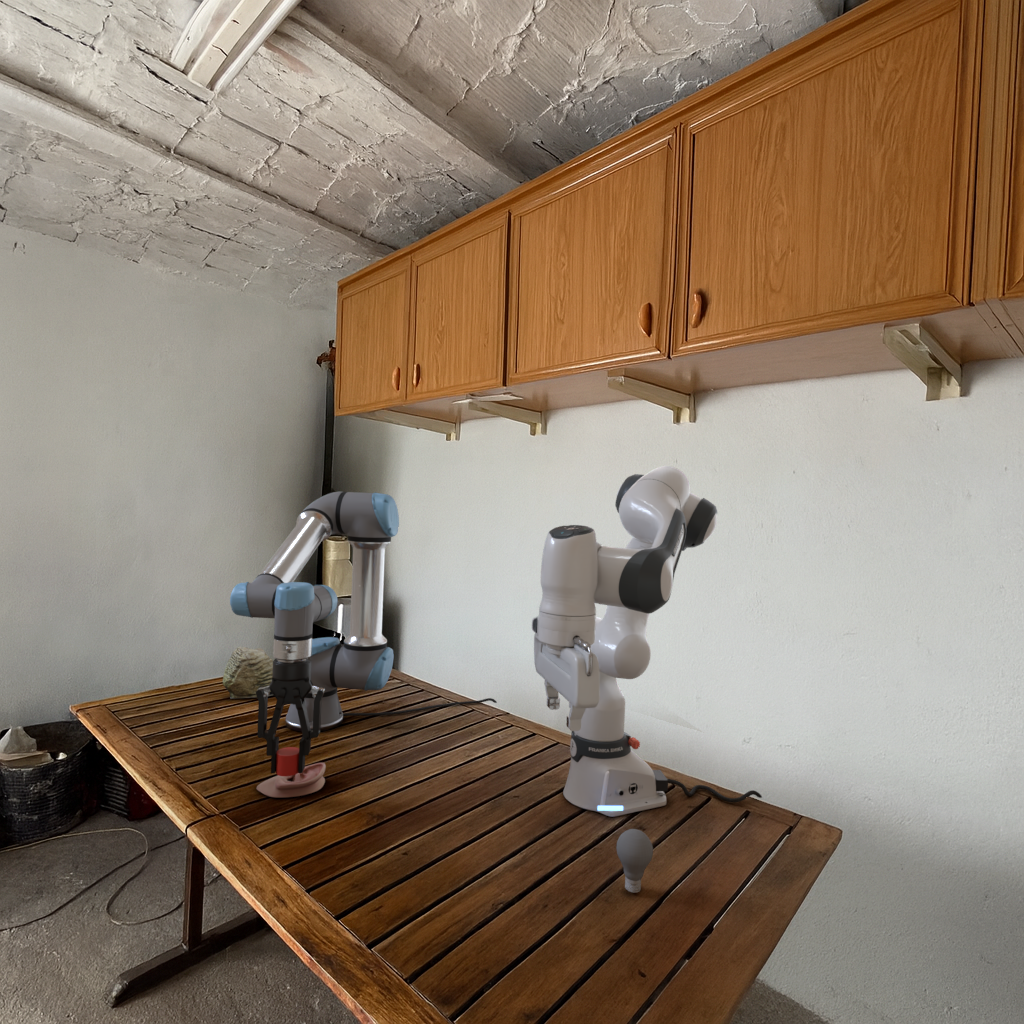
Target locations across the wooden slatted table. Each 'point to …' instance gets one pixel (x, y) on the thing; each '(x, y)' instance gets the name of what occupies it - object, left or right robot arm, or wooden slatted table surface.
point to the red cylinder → (287, 761)
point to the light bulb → (634, 857)
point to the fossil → (247, 672)
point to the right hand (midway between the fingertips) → (562, 718)
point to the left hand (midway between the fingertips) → (287, 770)
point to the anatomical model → (295, 783)
